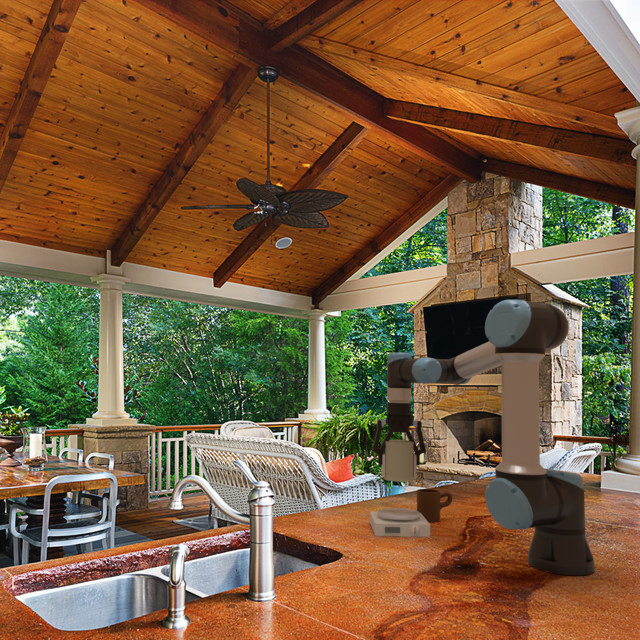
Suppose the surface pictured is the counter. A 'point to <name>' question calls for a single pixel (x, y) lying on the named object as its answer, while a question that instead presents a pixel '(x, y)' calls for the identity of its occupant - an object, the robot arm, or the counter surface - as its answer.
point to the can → (399, 460)
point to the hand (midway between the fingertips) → (398, 476)
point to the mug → (431, 503)
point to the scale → (399, 523)
